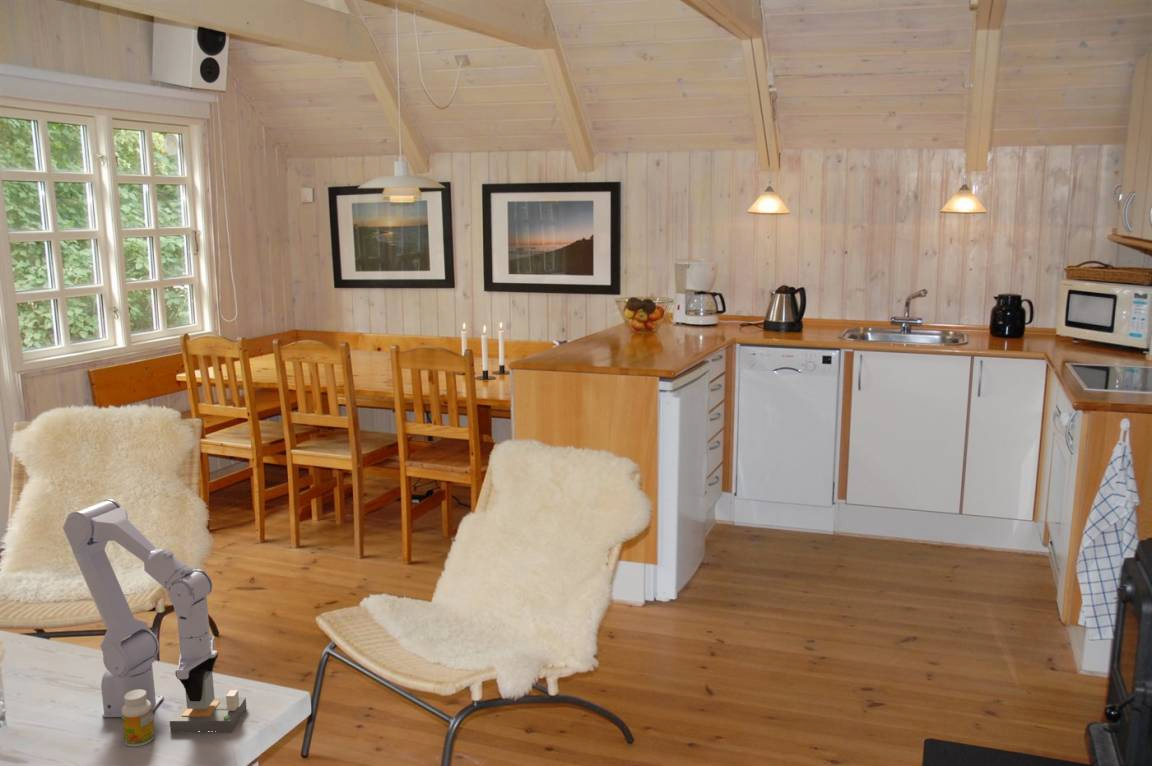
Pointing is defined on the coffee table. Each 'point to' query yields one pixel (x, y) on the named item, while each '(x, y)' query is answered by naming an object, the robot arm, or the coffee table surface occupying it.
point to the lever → (232, 700)
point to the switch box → (207, 717)
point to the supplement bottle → (137, 718)
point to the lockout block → (203, 694)
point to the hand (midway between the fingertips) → (199, 694)
